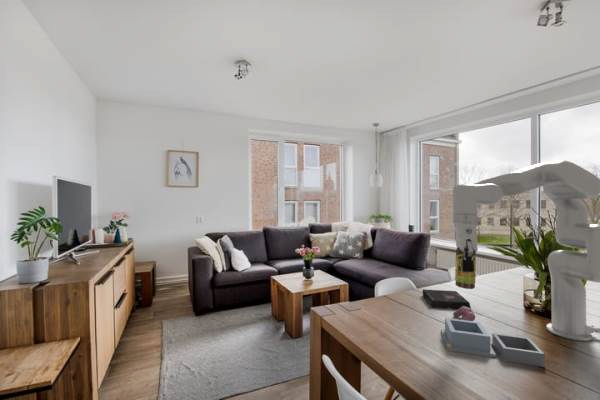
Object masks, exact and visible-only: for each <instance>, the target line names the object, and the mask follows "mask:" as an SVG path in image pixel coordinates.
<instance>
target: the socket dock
mask: <svg viewBox="0 0 600 400" xmlns="http://www.w3.org/2000/svg"><path fill="white" fill-rule="evenodd" d="M440 334H441V335H442V338H443V340H444V343H445V346H446V349H447V351H451V352H456V353H457V352H458V353H465V354H472V355H477V356H483V357H489V358H497V354H496V353H495V351H494V349H493V348H492V345H491V335H490V334H489V333H488V331H487V330H486V328H485V327H484V326H483V324H482V323H481V322H480V321H466V320H462V319H458V318H457V319H456V318H448V317H445V318H444V329H440Z"/></svg>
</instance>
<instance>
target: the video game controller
mask: <svg viewBox="0 0 600 400" xmlns="http://www.w3.org/2000/svg"><path fill="white" fill-rule="evenodd" d="M452 315H453V317H455V318H460V317H461V320H466V321H474V320H475V319H476V314H475V313H474V310H473V309H472V308H471V309H470V308H468V307H464V306H463V307H461V308H459V309H456V310H455V311H454V312H453V313H452Z"/></svg>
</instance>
